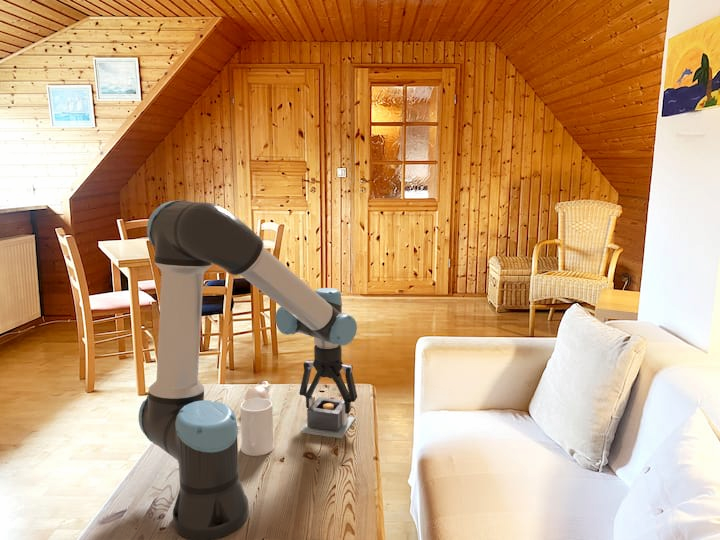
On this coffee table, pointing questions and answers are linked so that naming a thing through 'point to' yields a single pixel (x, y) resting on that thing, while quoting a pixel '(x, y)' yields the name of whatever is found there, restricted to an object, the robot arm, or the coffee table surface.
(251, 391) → the figurine
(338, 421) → the hollow square block
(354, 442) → the coffee table surface
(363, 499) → the coffee table surface
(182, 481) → the robot arm
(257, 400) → the mug
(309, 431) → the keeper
